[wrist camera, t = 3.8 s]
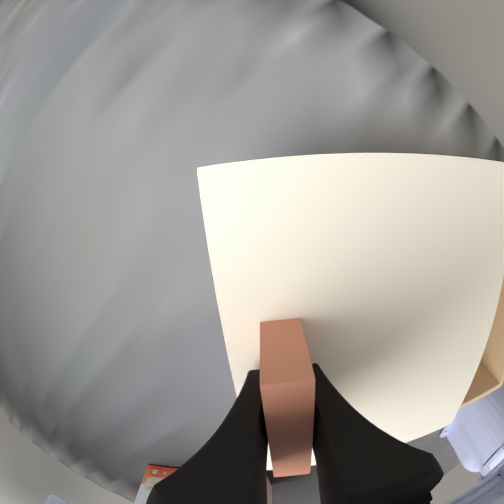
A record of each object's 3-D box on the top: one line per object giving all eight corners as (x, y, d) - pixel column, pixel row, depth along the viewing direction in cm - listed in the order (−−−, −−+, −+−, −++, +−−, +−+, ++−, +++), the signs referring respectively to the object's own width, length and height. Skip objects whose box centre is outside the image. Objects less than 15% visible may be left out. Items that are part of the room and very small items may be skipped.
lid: (447, 418, 13) (469, 454, 9) (255, 463, 14) (254, 513, 10) (501, 162, 8) (559, 168, 4) (200, 168, 9) (160, 163, 5)
